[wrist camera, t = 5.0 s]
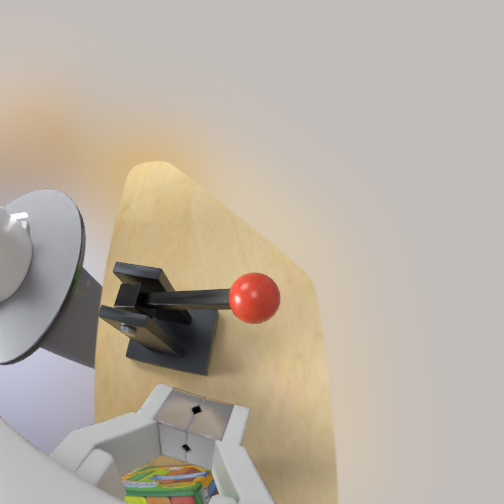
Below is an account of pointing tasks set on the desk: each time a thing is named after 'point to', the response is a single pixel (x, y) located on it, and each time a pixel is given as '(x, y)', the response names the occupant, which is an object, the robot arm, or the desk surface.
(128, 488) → the chalk box
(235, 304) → the lever
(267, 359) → the desk surface
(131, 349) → the bracket
